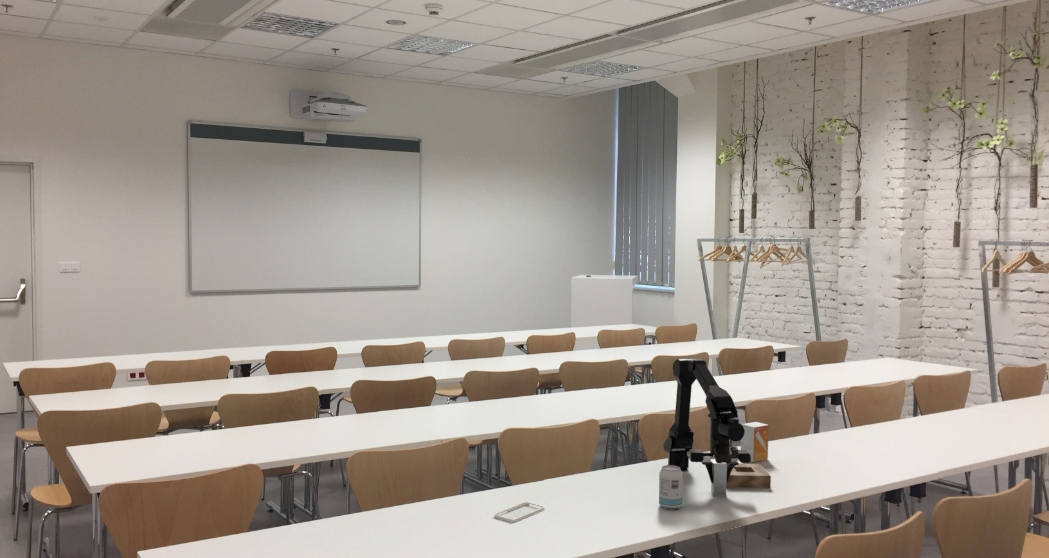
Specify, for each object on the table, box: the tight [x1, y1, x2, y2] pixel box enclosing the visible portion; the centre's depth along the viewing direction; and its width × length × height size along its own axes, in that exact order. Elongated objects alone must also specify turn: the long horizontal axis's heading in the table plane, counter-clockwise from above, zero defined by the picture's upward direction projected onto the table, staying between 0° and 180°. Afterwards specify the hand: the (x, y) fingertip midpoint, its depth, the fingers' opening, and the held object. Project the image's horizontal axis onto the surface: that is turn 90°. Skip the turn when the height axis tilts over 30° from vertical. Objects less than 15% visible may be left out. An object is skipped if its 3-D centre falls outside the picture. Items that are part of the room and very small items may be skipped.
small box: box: [740, 421, 770, 463], centre depth 297 cm, size 8×6×13 cm
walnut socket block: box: [726, 463, 772, 489], centre depth 270 cm, size 14×14×4 cm
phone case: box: [493, 501, 545, 523], centre depth 238 cm, size 7×1×15 cm
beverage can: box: [658, 465, 684, 511], centre depth 243 cm, size 7×7×12 cm
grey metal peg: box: [710, 460, 727, 497], centre depth 256 cm, size 4×4×10 cm
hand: (718, 482), depth 257 cm, fingers closed on grey metal peg, 4 cm apart
